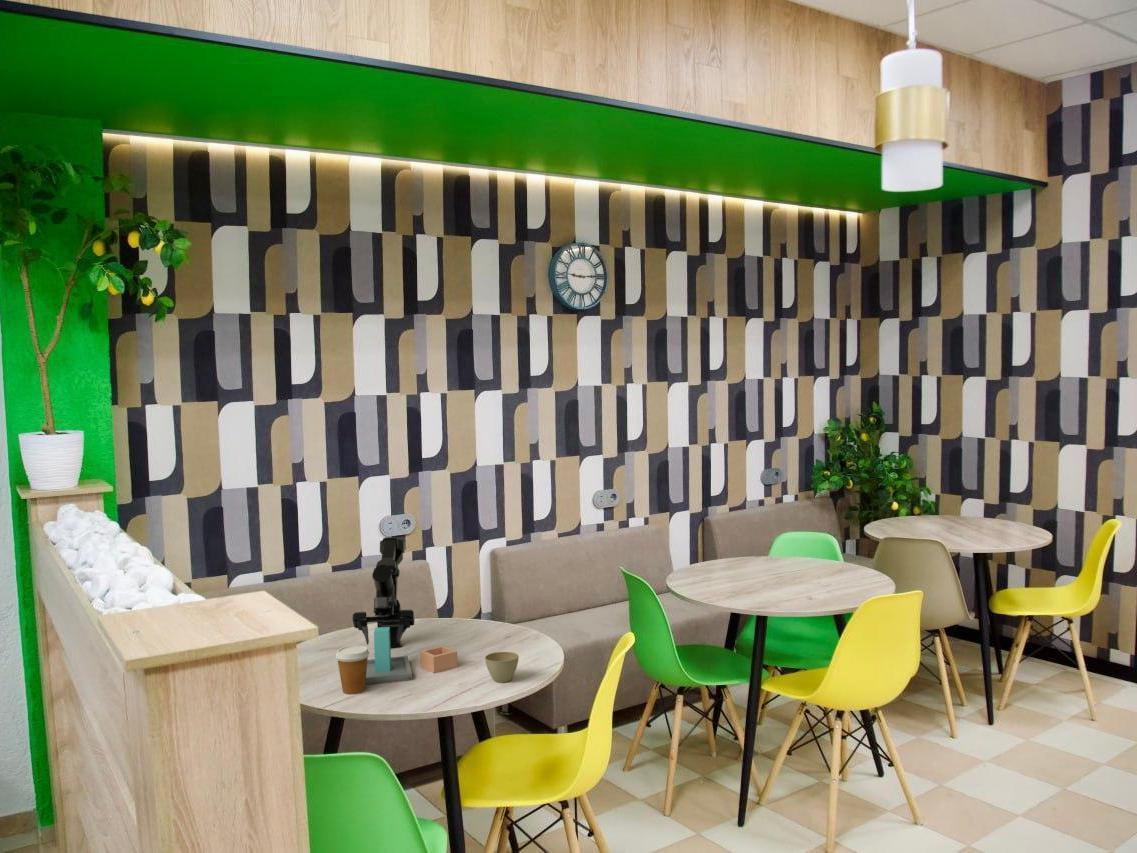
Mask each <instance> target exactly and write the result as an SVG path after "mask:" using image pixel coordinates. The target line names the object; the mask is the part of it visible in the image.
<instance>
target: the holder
mask: <svg viewBox="0 0 1137 853" xmlns="http://www.w3.org/2000/svg"><path fill="white" fill-rule="evenodd" d="M419 668H422V669H424V670H426V671H428V672H431V673H432V674H436V673H441V672H444V671H448V670H453V669H456V668H458V651H457V650H454V649H452V648H450V647H448V646H444V645H441V646H436V647H431V648H427V649H422V650H419Z"/></svg>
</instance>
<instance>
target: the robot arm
mask: <svg viewBox="0 0 1137 853" xmlns="http://www.w3.org/2000/svg"><path fill="white" fill-rule="evenodd" d="M379 553H380V554H381V559H380V560H378V561H377V562H376V566H375V567H374V568H373V570H372V575H371V576H372V580H373V584H374V588H375V589H376V590H375V597H374V599H373V614H374V615H367V611H356V612H355V611H354V613H353V614H352V623H353V628H355V629H358V631H362V633H363V636H364V639H365V642H366V645H367V646H368V645H369V643H370V642H369V637H370V636H369V627H368V623H377V628H379V627H390V648H391V649H394V648H395V649H396V648H402V647H403V646H402V645H403V644H402V641H401V639H402V637H403V635H404V634H405V632H406V630H407V629H410V628H411V626H415V612H414V610H413V609H402V607H401V603H400V601H399V599H398V584H399V583H398V582H399V580H398V579H399V577H400V575H401V573H400V572H401V571H400V570H399V569H400V568H399V565H400V564H401V563H402V561H403V560H404V554H405V553H406V542H405V541H404V540H403V539H399V538H398V537H396V536H390V537H389V536H388V537H386V536H385V537H383V538H382V540H380V541H379Z"/></svg>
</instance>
